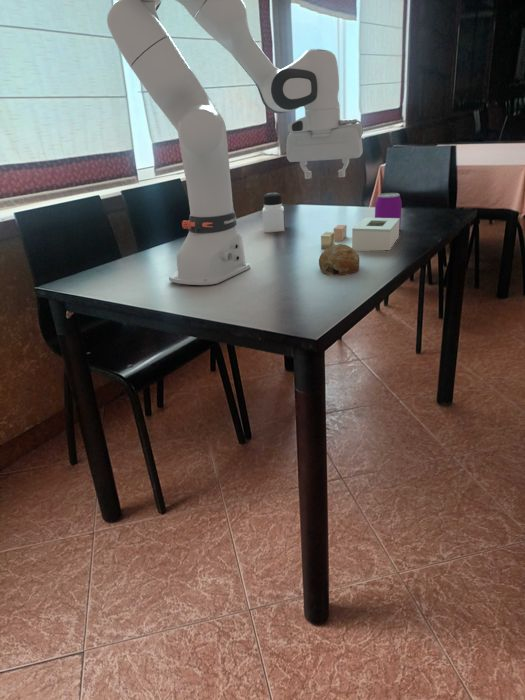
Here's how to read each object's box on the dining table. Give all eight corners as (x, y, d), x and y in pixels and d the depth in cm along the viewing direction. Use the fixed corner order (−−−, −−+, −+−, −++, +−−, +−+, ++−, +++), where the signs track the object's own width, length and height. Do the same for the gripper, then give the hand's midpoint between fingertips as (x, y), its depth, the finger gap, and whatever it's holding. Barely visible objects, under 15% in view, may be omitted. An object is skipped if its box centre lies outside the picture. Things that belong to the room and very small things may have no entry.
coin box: (389, 255, 131) (390, 229, 128) (352, 254, 135) (352, 228, 131) (398, 242, 142) (399, 218, 139) (364, 241, 146) (364, 217, 143)
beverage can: (399, 231, 154) (401, 191, 149) (400, 237, 147) (403, 196, 142) (373, 232, 155) (375, 193, 150) (374, 238, 149) (375, 197, 143)
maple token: (329, 252, 138) (329, 236, 136) (321, 251, 139) (321, 235, 137) (334, 247, 142) (334, 231, 141) (326, 247, 143) (326, 231, 141)
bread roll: (317, 286, 121) (312, 264, 115) (325, 256, 127) (321, 233, 120) (357, 289, 118) (354, 265, 112) (364, 257, 123) (361, 234, 117)
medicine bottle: (284, 231, 165) (283, 194, 160) (263, 232, 165) (261, 195, 160) (284, 226, 171) (282, 191, 166) (264, 228, 172) (261, 192, 166)
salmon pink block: (341, 244, 145) (342, 228, 143) (333, 243, 146) (333, 228, 144) (346, 239, 149) (346, 225, 147) (338, 239, 150) (338, 224, 148)
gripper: (365, 117, 126) (365, 174, 132) (290, 124, 134) (293, 177, 140) (359, 118, 121) (360, 177, 127) (282, 125, 129) (286, 181, 135)
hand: (324, 177), depth 133 cm, fingers open, 8 cm apart
